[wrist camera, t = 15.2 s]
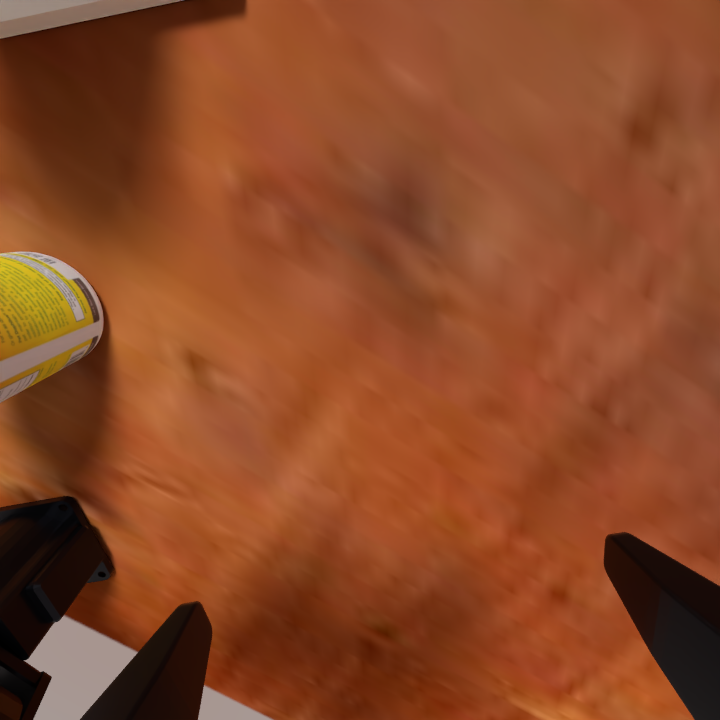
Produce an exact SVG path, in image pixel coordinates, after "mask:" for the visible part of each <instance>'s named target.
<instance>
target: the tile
mask: <svg viewBox="0 0 720 720" xmlns="http://www.w3.org/2000/svg"><path fill="white" fill-rule="evenodd" d="M178 1H183V0H0V39H2V38H6V37H11V36H16V35H21V34H25V33H30V32H35V31H40V30H44V29H49V28H54V27H59V26H64V25H68V24H73V23H78V22H83V21H87V20H92V19H97V18H102V17H107V16H111V15H116V14H121V13H126V12H130V11H135V10H140V9H145V8H149V7H154V6H159V5H164V4H169V3H173V2H178Z"/></svg>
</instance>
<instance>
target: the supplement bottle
mask: <svg viewBox="0 0 720 720" xmlns="http://www.w3.org/2000/svg"><path fill="white" fill-rule="evenodd" d="M103 324H104V318H103V311H102V307H101V304H100V301H99V299H98V297H97V295H96V293H95V291H94V289H93V288H92V286H91V285H90V284H89V283H88V281H87V280H86V279H85V278H84V277H83V276H82V275H81V274H80V273H79V272H78V271H76V270H75V269H74V268H72V267H71V266H69V265H68V264H66V263H64V262H62V261H61V260H58V259H56V258H54V257H51V256H48V255H45V254H41V253H35V252H10V253H1V254H0V403H1V402H3V401H4V400H6V399H8V398H10V397H12V396H14V395H16V394H17V393H19V392H21V391H23V390H25V389H27V388H29V387H31V386H32V385H34V384H36V383H38V382H40V381H41V380H43V379H45V378H47V377H49V376H51V375H52V374H54V373H56V372H58V371H60V370H62V369H63V368H65V367H67V366H69V365H71V364H72V363H74V362H76V361H78V360H80V359H82V358H83V357H85V356H86V355H87V354H89V353H90V352H91V351H92V350H93V349H94V348H95V346H96V345H97V343H98V342H99V340H100V337H101V335H102V331H103Z"/></svg>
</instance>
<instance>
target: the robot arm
mask: <svg viewBox="0 0 720 720" xmlns="http://www.w3.org/2000/svg"><path fill="white" fill-rule="evenodd" d="M604 567H605V570H606V573H607V575H608V577H609V578H610V580H611V582H612V584H613V586H614V587H615V589H616V591H617V593H618V595H619V597H620V598H621V600H622V602H623V604H624V606H625V607H626V609H627V611H628V613H629V615H630V617H631V618H632V620H633V622H634V624H635V626H636V627H637V629H638V631H639V633H640V635H641V637H642V638H643V640H644V642H645V644H646V645H647V647H648V649H649V651H650V652H651V654H652V656H653V657H654V659H655V660H656V662H657V663H658V665H659V667H660V668H661V670H662V671H663V673H664V674H665V676H666V677H667V679H668V680H669V682H670V683H671V685H672V686H673V688H674V689H675V691H676V692H677V694H678V695H679V697H680V698H681V700H682V701H683V703H684V704H685V706H686V707H687V709H688V710H689V712H690V713H691V715H692V716H693V718H694V719H695V720H720V586H719V585H717V584H715V583H713V582H712V581H710V580H708V579H707V578H705V577H703V576H701V575H700V574H698V573H696V572H695V571H693V570H691V569H690V568H688V567H686V566H684V565H683V564H681V563H679V562H678V561H676V560H674V559H672V558H671V557H669V556H667V555H666V554H664V553H662V552H660V551H659V550H657V549H655V548H654V547H652V546H650V545H649V544H647V543H645V542H643V541H642V540H640V539H638V538H637V537H635V536H633V535H631V534H629V533H626V532H621V533H615V534H609V535H607V537H606V539H605V550H604ZM112 573H113V567H112V565H111V563H110V562H109V560H108V558H107V556H106V555H105V553H104V551H103V549H102V547H101V546H100V544H99V542H98V540H97V539H96V537H95V535H94V533H93V531H92V530H91V528H90V526H89V524H88V523H87V521H86V519H85V517H84V515H83V514H82V512H81V510H80V508H79V507H78V505H77V503H76V501H75V500H74V499H73V498H71V497H68V496H63V497H58V498H52V499H46V500H40V501H35V502H29V503H23V504H17V505H11V506H6V507H0V720H33V718H34V716H35V714H36V712H37V710H38V707H39V705H40V703H41V700H42V698H43V696H44V694H45V691H46V690H47V687H48V685H49V683H50V680H51V678H52V677H51V676H50V675H48V674H47V673H45V672H44V671H43V672H39V671H38V670H36V669H35V668H34V667H32V666H31V665H29V664H28V663H26V662H25V661H23V660H27V659H28V658H29V657H30V655H31V654H32V653H33V651H34V650H35V649H36V647H37V646H38V644H39V643H40V642H41V640H42V639H43V637H44V636H45V635H46V633H47V632H48V630H49V629H50V627H51V626H52V625H53V624H54V622H58V621H59V620H60V619H61V618H62V617H63V615H64V614H65V613H66V611H67V610H68V608H69V607H70V605H71V604H72V603H73V601H74V600H75V598H76V597H77V596H78V594H79V593H80V591H81V590H82V589H83V587H84V586H85V584H86V583H90V582H96V581H102V580H107V579H108V578H109V577H110V576H111V574H112ZM211 640H212V626H211V623H210V621H209V619H208V617H207V615H206V612H205V610H204V608H203V606H202V604H201V603H200V602H198V601H196V602H190V603H184V604H181V605H180V606H178V607H177V608H176V609H175V611H174V612H173V613H172V614H171V615H170V616H169V617H168V619H167V620H166V621H165V622H164V623H163V624H162V626H161V627H160V628H159V629H158V630H157V631H156V632H155V634H154V635H153V636H152V637H151V638H150V639H149V641H148V642H147V643H146V644H145V645H144V646H143V647H142V649H141V650H140V651H139V652H138V653H137V654H136V656H135V657H134V658H133V659H132V660H131V661H130V662H129V664H128V665H127V666H126V667H125V668H124V669H123V671H122V672H121V673H120V674H119V675H118V676H117V677H116V679H115V680H114V681H113V682H112V683H111V684H110V685H109V687H108V688H107V689H106V690H105V691H104V692H103V694H102V695H101V696H100V697H99V698H98V700H97V701H96V702H95V703H94V704H93V705H92V706H91V707H90V709H89V710H88V711H87V712H86V713H85V714H84V715H83V717H82V718H81V719H80V720H198V715H199V710H200V704H201V698H202V693H203V687H204V681H205V675H206V669H207V663H208V658H209V652H210V646H211Z"/></svg>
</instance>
